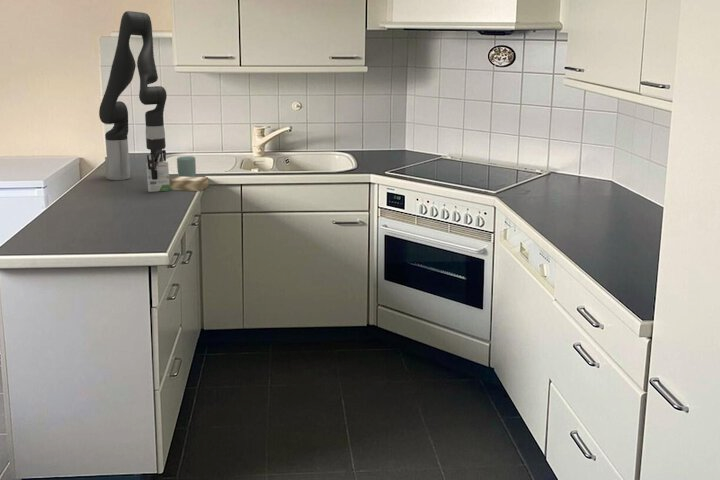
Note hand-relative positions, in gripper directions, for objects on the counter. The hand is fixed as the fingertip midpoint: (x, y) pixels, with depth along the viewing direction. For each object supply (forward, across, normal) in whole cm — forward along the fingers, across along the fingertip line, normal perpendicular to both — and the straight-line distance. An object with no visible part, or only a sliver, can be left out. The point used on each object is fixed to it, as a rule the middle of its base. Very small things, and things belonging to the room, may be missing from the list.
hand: (158, 177), depth 347 cm
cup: (+5, -22, +4) cm, 23 cm away
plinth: (+5, -6, +11) cm, 14 cm away
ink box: (+5, 0, 0) cm, 5 cm away
